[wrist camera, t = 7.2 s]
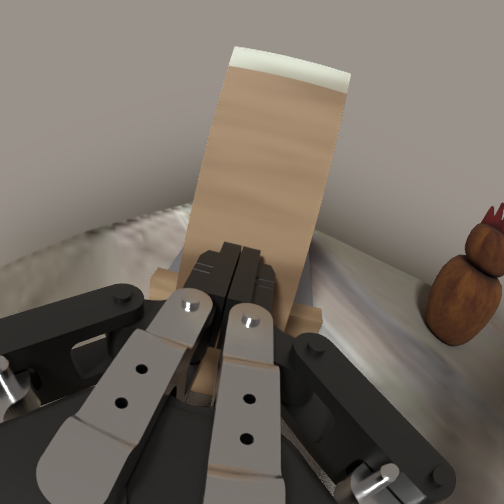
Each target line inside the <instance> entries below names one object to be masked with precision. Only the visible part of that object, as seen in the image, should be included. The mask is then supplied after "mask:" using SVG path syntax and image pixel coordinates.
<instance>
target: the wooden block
mask: <svg viewBox="0 0 504 504" xmlns="http://www.w3.org/2000/svg"><path fill="white" fill-rule="evenodd" d="M350 76H351V74H349V73H346V72H343V71H340V70H337V69H333V68H330V67H326V66H323V65H320V64H316V63H312V62H308V61H304V60H300V59H296V58H292V57H288V56H283V55H279V54H274V53H269V52H264V51H259V50H253V49H248V48H242V47H234V50H233V54H232V57H231V60H230V63H229V67H228V70H227V73H226V77H225V80H224V84H223V87H222V90H221V94H220V98H219V101H218V104H217V108H216V112H215V116H214V119H213V123H212V127H211V130H210V134H209V138H208V142H207V146H206V150H205V154H204V158H203V162H202V166H201V170H200V175H199V179H198V183H197V187H196V192H195V196H194V201H193V205H192V210H191V214H190V219H189V224H188V228H187V233H186V238H185V243H184V248H183V253H182V258H181V264H180V269H179V275H178V280H177V286H176V290H178V289H182V288H183V286H184V284H185V282H186V280H187V279H188V277H189V275H190V273H191V271H192V269H193V267H194V266H195V264H196V262H197V260H198V258H199V256H200V255H201V254H202V253H204V252H206V251H208V250H211V251H215V252H220V250H221V248H222V246H223V243H224V241H225V242H229V243H233V244H237V245H241V246H242V249H243V246H246V247H250V248H254V249H258V250H261V253H260V258H259V263H263V264H267V265H271V266H272V268H273V270H274V272H275V282H274V292H273V301H272V310H271V316H272V318H273V323H274V324H275V325H276V326H277V328H279V329H280V330H281V331H283V332H284V330H285V327H286V323H287V320H288V317H289V314H290V311H291V307H292V304H293V301H294V298H295V294H296V291H297V288H298V284H299V281H300V277H301V274H302V271H303V267H304V264H305V260H306V257H307V253H308V250H309V246H310V243H311V239H312V235H313V232H314V228H315V224H316V221H317V217H318V213H319V209H320V206H321V202H322V198H323V193H324V190H325V186H326V182H327V178H328V174H329V170H330V166H331V162H332V158H333V154H334V149H335V145H336V141H337V136H338V132H339V128H340V123H341V119H342V113H343V110H344V105H345V100H346V95H347V91H348V85H349V81H350ZM242 249H241V253H242ZM240 256H241V254H240ZM239 259H240V258H239ZM220 329H221V328H220ZM219 334H220V331H219ZM218 338H219V335H218ZM218 338H217V341H216V345H215V348H212V347H208V349H207V352H206V355H205V356H204V358H203V362H202V365H201V367H200V370H199V372H198V374H197V377H196V379H195V381H194V383H193V386H192V388H191V390H190V391H194V392H197V393H201V394H205V395H208V396H212V394H213V388H214V382H215V376H216V370H217V365H218V361H219V356H220V352H221V350H220V349H216V348H217V343H218Z"/></svg>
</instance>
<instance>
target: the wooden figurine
mask: <svg viewBox="0 0 504 504" xmlns="http://www.w3.org/2000/svg"><path fill="white" fill-rule="evenodd" d="M503 209H504V203H501V205H500V207H499V209H498V211H497V213H496V215H495V216H494V207H493V206H492V207H491V208H490V209H489V211H488V212H487V214H486V215H485V217H484V219H483V220H482V222H481V223H480V224H477V225H476V226H475V227H474V228H473V229H472V230H471V232H470V234H469V236H468V238H467V241H466V244H465V253H466V255H458V256H456V257H453V258H452V259H451V260H449V261H448V262H447V263H446V264H445V265H444V266H443V267H442V269H441V271H440V272H439V274H438V275H437V277H436V279H435V281H434V283H433V285H432V288H431V291H430V294H429V298H428V303H427V311H426V320H427V323H428V325H429V327H430V329H431V330H432V332H433V333H434V334H435V335H436V336H437V337H438V338H439V339H441V340H442V341H443V342H445V343H447V344H449V345H453V346H458V345H462V344H464V343H466V342H468V341H470V340H471V339H472V338H473V337H475V336H476V335H477V334H478V333H479V332H480V331H481V330H482V329H483V328H484V327H485V325H486V324H487V323H488V322H489V320H490V319H491V318H492V316H493V315H494V313H495V311H496V310H497V308H498V306H499V303H500V300H501V297H502V286H501V284H500V282H499V280H498V278H497V277H501V276H503V275H504V218H503V220H501V219H502V214H503Z"/></svg>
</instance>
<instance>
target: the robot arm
mask: <svg viewBox="0 0 504 504" xmlns="http://www.w3.org/2000/svg"><path fill="white" fill-rule="evenodd" d="M241 249H242V246H241V245H237V244H233V243H229V242H225V241H224V243H223V246H222V248H221V250H220V252H215V251H211V250H208V251H206V252H204V253H202V254H201V255H200V256H199V258H198V260H197V262H196V264H195V266H194V267H193V269H192V271H191V273H190V275H189V277H188V279H187V280H186V282H185V284H184V286H183V288H182V289H178V290H176V291H174V292H173V293H172V294H171V295H170V296H169V298H168V299H167V300H144V295H143V293H142V291H141V290H140V289H139V288H137V287H135V286H133V285H130V284H114V285H111V286H107V287H104V288H101V289H97V290H94V291H91V292H87V293H84V294H81V295H77V296H74V297H71V298H67V299H64V300H61V301H57V302H54V303H51V304H47V305H44V306H41V307H37V308H34V309H31V310H27V311H24V312H21V313H18V314H14V315H11V316H8V317H4V318H1V319H0V504H437V503H439V502H440V501H442V500H444V499H446V498H447V497H449V496H450V495H451V494H452V492H453V490H454V488H455V484H456V477H455V473H454V470H453V468H452V467H451V465H450V464H449V463H448V462H447V461H446V460H445V459H444V458H443V457H442V456H441V455H440V454H439V453H438V452H437V451H436V450H435V449H434V448H433V447H432V446H431V445H430V444H429V443H428V442H427V440H426V439H425V438H424V437H423V436H422V435H421V434H420V433H419V432H418V431H417V430H416V429H415V428H414V427H413V426H412V425H411V424H410V423H409V422H408V421H407V420H406V419H405V418H404V417H403V416H402V415H401V414H400V413H399V412H398V411H397V410H396V408H395V407H394V406H393V405H392V404H391V403H390V402H389V401H388V400H387V399H386V398H385V397H384V396H383V395H382V394H381V393H380V392H379V391H378V390H377V389H376V388H375V387H374V386H373V385H372V384H371V383H370V382H369V380H368V379H367V378H366V377H365V376H364V375H363V374H362V373H361V372H360V371H359V370H358V369H357V368H356V367H355V366H354V365H353V364H352V363H351V362H350V361H349V360H348V359H347V358H346V357H345V356H344V354H343V353H342V352H341V351H340V350H339V349H338V348H337V347H336V346H335V345H334V344H333V343H332V342H331V341H330V340H329V339H327V338H326V337H324V336H322V335H320V334H317V333H311V332H307V333H302V334H300V335H298V336H297V337H296V338H294V337H292V336H290V335H288V334H286V333H284V332H283V331H281V330H280V329H279V328H277V326H276V325H275V324H274V323H273V318H272V316H271V310H272V301H273V292H274V282H275V272H274V270H273V268H272V266H271V265H267V264H263V263H259V258H260V253H261V250H258V249H254V248H250V247H246V246H243V249H242V253H241ZM240 254H241V256H240ZM239 258H240V259H239ZM220 328H221V329H220ZM219 331H220V334H219ZM102 334H105V335H106V338H103V339H100V340H97V341H95V342H92V343H89V344H86V345H83V346H81V347H78V348H75V349H72V347H73V346H74V345H75V344H77V343H79V342H82V341H85V340H88V339H91V338H93V337H96V336H99V335H102ZM218 335H219V338H218ZM217 338H218V343H217V348H216V349H220V350H221V352H220V356H219V361H218V365H217V370H216V376H215V382H214V388H213V394H212V400H211V406H210V407H198V406H191V405H188V404H186V403H185V402H186V400H187V397H188V395H189V393H190V390H191V388H192V386H193V383H194V381H195V379H196V377H197V374H198V372H199V370H200V367H201V365H202V362H203V358H204V356H205V355H206V352H207V349H208V347H212V348H215V345H216V341H217ZM71 349H72V350H71ZM96 384H97V385H96ZM94 385H96V386H94ZM91 386H92V387H91ZM68 395H69V396H68ZM63 397H64V398H63ZM61 398H62V399H61ZM58 399H59V400H58ZM55 400H57V401H55ZM53 401H55V402H53ZM50 402H52V403H50ZM47 403H50V404H47ZM44 404H47V405H45V406H42V405H44ZM40 406H42V407H40ZM280 416H281V417H282V418H283V420H284V421H285V422H286V424H287V425H288V426H289V427H290V429H291V430H292V431H293V433H294V434H295V435H296V437H297V438H298V439H299V440H300V442H301V443H302V444H303V446H304V447H305V448H306V449H307V451H308V452H309V453H310V454H311V456H312V457H313V458H314V459H315V461H316V462H317V463H318V464H319V466H320V467H321V468H322V469H323V470H324V472H325V473H326V474H327V475H328V477H329V478H330V479H331V480H332V481H333V483H334V484H335V485H336V487H335V490H334V497H333V496H332V495H331V493H330V492H329V491H328V490H327V488H326V487H325V486H324V484H323V483H322V482H321V480H320V479H319V478H318V476H317V475H316V474H315V472H314V471H313V470H312V468H311V467H310V466H309V464H308V463H307V462H306V460H305V459H304V458H303V456H302V455H301V453H300V452H299V451H298V449H297V448H296V447H295V446H294V445H293V444H292V443H291V442H290V441H289V440H288V439H287V438H286V437H284V436H283V435H282V434H281V426H280Z"/></svg>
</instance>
